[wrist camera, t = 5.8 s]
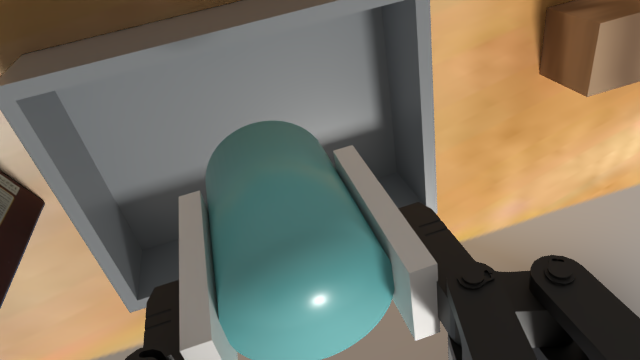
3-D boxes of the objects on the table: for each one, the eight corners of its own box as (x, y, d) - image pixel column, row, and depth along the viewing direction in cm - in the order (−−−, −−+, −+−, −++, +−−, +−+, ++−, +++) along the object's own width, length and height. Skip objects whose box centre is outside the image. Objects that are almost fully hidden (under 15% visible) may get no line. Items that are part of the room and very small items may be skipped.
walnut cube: (538, 73, 35) (587, 97, 31) (546, 7, 32) (600, 23, 28) (595, 57, 35) (650, 78, 31) (607, -9, 33) (669, 4, 28)
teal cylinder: (230, 103, 16) (259, 213, 10) (347, 141, 18) (425, 250, 13) (188, 214, 18) (193, 359, 12) (299, 237, 20) (348, 370, 14)
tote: (136, 256, 34) (129, 312, 29) (22, 54, 25) (-13, 89, 20) (404, 173, 36) (437, 213, 32) (386, -36, 27) (429, -23, 23)
